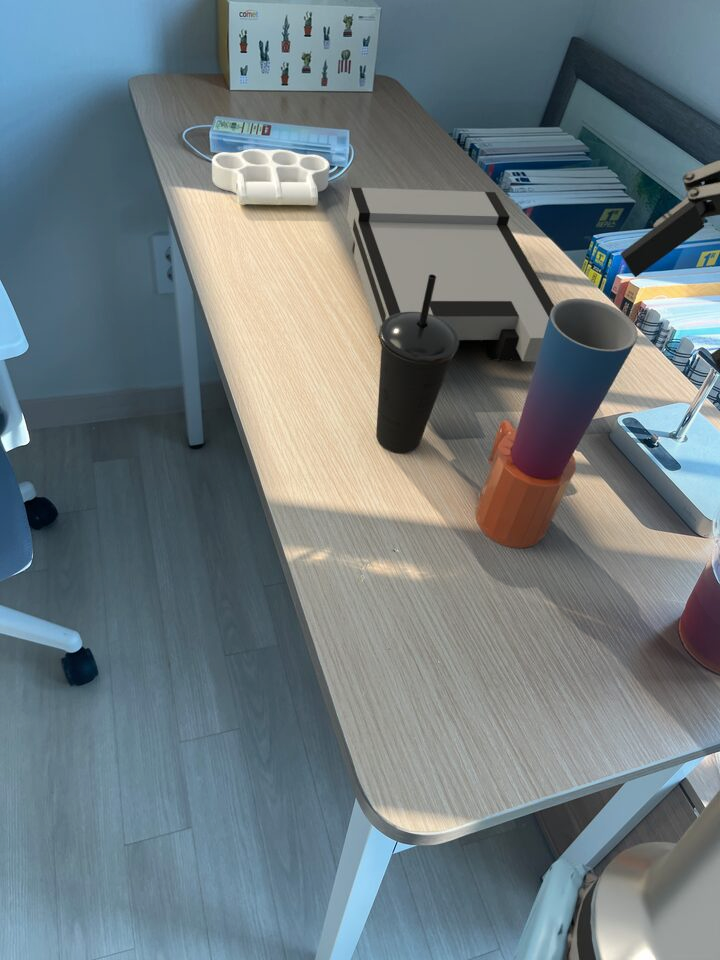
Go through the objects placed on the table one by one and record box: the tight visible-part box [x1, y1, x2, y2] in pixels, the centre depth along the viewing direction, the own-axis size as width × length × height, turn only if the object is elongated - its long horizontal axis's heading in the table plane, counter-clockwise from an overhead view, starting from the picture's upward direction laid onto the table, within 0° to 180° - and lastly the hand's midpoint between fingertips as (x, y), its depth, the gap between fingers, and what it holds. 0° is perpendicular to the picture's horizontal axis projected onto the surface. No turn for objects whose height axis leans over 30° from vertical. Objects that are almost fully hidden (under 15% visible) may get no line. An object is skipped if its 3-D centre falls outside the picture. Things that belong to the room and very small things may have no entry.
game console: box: [346, 186, 555, 362], centre depth 97 cm, size 21×32×8 cm, turn 10°
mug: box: [475, 419, 577, 549], centre depth 73 cm, size 10×7×9 cm
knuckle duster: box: [211, 148, 331, 207], centre depth 116 cm, size 3×18×15 cm
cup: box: [511, 297, 639, 479], centre depth 63 cm, size 7×7×15 cm
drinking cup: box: [375, 274, 460, 454], centre depth 75 cm, size 8×8×20 cm
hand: (669, 313), depth 60 cm, fingers open, 13 cm apart
